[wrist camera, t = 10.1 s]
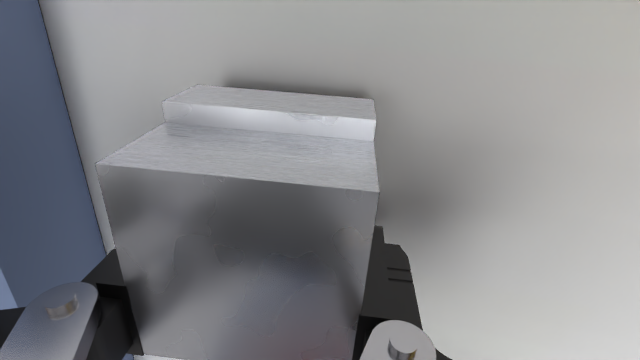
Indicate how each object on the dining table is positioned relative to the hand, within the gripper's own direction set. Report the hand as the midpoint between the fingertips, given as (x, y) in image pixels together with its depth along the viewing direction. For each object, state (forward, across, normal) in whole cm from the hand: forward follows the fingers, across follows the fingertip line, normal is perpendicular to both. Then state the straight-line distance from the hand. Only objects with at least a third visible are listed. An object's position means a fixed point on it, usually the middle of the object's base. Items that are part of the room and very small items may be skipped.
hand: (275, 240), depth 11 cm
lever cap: (+1, 0, 0) cm, 1 cm away
